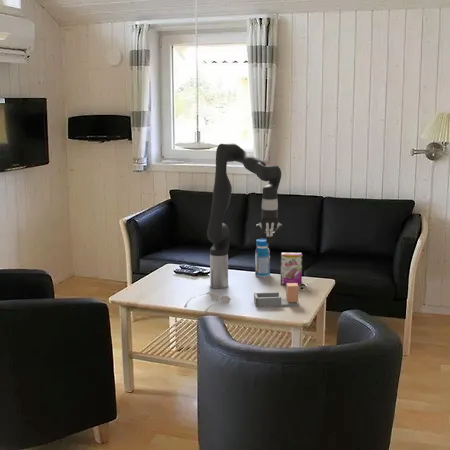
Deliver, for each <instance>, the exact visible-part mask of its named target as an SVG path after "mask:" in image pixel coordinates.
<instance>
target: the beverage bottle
mask: <svg viewBox="0 0 450 450" xmlns="http://www.w3.org/2000/svg"><path fill="white" fill-rule="evenodd" d="M255 242H256V249H255V251H254V253H255V255H254V259H255V261H254V262H255V263H254V267H255V268H254V270H255V271H254V272H255V276H256V277H259V278H266V277H267V278H268V277H269V276H270V275H271V266H270V265H271V264H270V263H271V260H270V259H271V255H270V254H271V251H270V248H269V245H270V244H268V243H267V242H266V238H259V239H256V241H255Z"/></svg>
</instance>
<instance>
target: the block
mask: <svg viewBox="0 0 450 450" xmlns="http://www.w3.org/2000/svg"><path fill="white" fill-rule="evenodd" d="M285 285H286V287H285V288H286V290H285V291H286V296H285V297H286V298H285V299H286V300H287V302H297V303H299V288H300V287H299V286H300V285H298V284H297V283H286V284H285Z"/></svg>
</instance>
